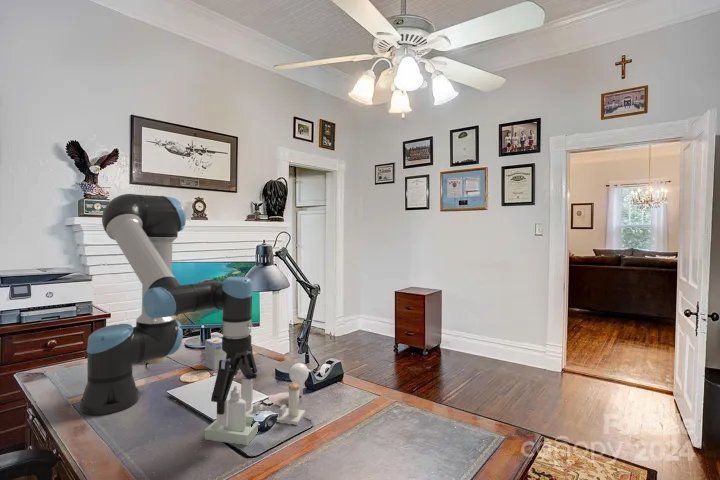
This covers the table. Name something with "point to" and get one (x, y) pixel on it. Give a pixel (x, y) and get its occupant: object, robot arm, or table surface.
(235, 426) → the eye dropper bottle
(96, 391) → the robot arm
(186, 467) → the table surface
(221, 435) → the tray
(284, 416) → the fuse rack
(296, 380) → the lightbulb
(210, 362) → the light bulb box
